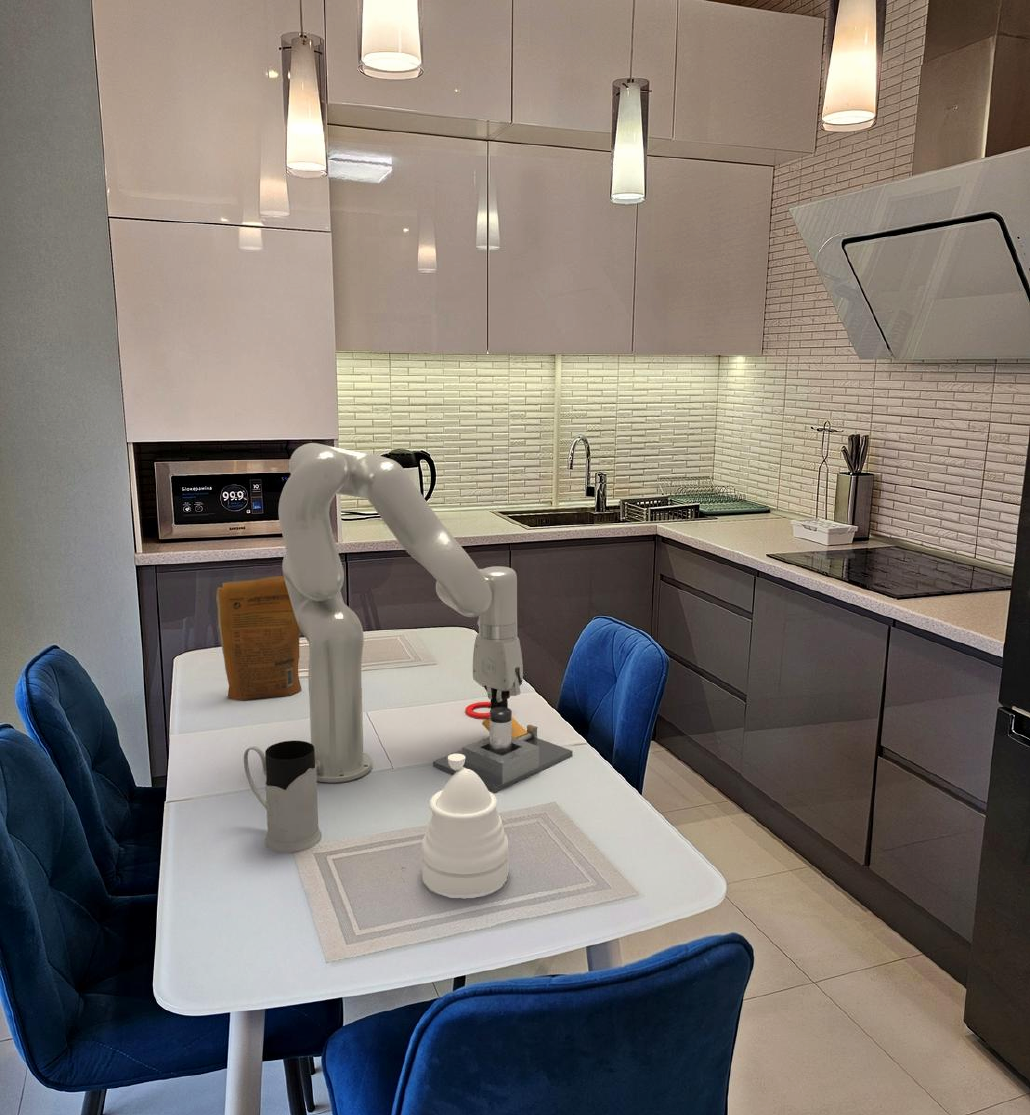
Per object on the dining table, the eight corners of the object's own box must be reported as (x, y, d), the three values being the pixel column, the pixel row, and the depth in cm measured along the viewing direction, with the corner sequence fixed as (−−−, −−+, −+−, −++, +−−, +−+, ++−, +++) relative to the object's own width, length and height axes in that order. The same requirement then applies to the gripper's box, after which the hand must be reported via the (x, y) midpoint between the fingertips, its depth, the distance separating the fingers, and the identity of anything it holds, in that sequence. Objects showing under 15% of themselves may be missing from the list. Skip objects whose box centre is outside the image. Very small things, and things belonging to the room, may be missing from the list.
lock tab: (506, 746, 175) (482, 721, 179) (504, 750, 176) (480, 724, 179) (532, 735, 181) (508, 710, 184) (530, 739, 181) (506, 714, 185)
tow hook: (463, 720, 194) (506, 720, 194) (460, 663, 192) (504, 662, 191) (467, 706, 202) (508, 706, 202) (464, 651, 200) (506, 650, 199)
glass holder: (295, 858, 138) (291, 766, 135) (228, 834, 145) (223, 746, 142) (333, 833, 145) (330, 746, 142) (267, 812, 152) (263, 728, 149)
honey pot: (404, 873, 134) (402, 760, 131) (468, 843, 143) (469, 736, 139) (461, 910, 125) (461, 790, 122) (526, 875, 134) (528, 762, 130)
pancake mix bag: (310, 696, 206) (305, 576, 200) (222, 705, 200) (215, 582, 194) (306, 686, 212) (302, 570, 206) (221, 695, 206) (214, 575, 200)
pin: (500, 773, 165) (501, 717, 163) (485, 767, 168) (485, 711, 166) (515, 767, 168) (516, 711, 166) (499, 760, 171) (500, 705, 169)
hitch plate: (494, 793, 160) (494, 766, 159) (433, 766, 170) (432, 741, 169) (572, 755, 176) (573, 731, 175) (511, 733, 186) (512, 710, 185)
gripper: (457, 626, 180) (459, 713, 183) (513, 641, 170) (513, 733, 174) (484, 618, 185) (485, 703, 189) (539, 633, 175) (539, 722, 179)
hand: (499, 717), depth 181 cm, fingers closed
